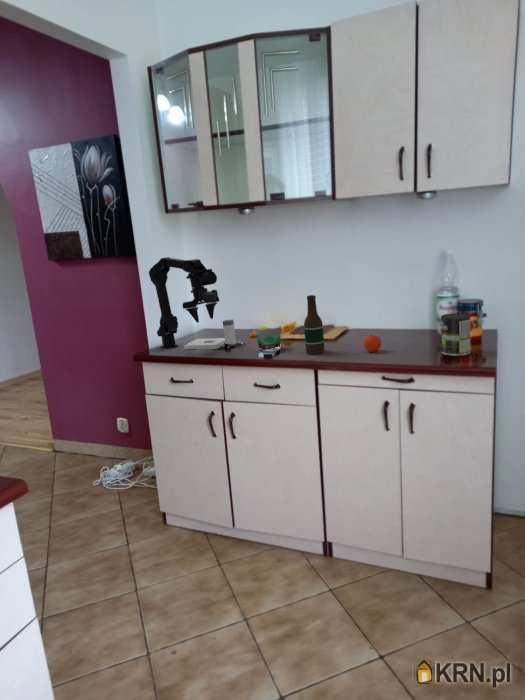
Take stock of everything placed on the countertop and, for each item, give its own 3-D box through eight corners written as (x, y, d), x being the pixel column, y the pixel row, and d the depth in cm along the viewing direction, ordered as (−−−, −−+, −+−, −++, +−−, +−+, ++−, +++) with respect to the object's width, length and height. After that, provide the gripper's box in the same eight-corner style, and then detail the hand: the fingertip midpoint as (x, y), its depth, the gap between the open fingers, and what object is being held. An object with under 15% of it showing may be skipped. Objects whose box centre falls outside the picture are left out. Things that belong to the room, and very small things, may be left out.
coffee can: (445, 356, 193) (444, 319, 190) (439, 350, 203) (438, 314, 200) (474, 354, 192) (473, 316, 189) (466, 348, 202) (466, 312, 199)
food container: (260, 354, 226) (257, 331, 224) (256, 351, 232) (254, 329, 230) (287, 350, 229) (285, 327, 227) (282, 347, 235) (280, 325, 233)
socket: (184, 349, 250) (183, 345, 250) (197, 342, 264) (196, 338, 264) (217, 348, 245) (216, 344, 245) (228, 341, 259) (228, 337, 259)
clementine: (376, 348, 216) (375, 331, 214) (387, 351, 210) (386, 333, 208) (360, 351, 213) (359, 334, 211) (371, 354, 207) (370, 337, 205)
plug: (225, 346, 250) (222, 321, 247) (228, 344, 253) (225, 319, 251) (233, 346, 248) (230, 321, 246) (236, 344, 252) (233, 319, 249)
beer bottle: (305, 351, 223) (301, 295, 218) (323, 349, 223) (319, 293, 217) (306, 355, 215) (301, 297, 210) (325, 353, 215) (321, 295, 210)
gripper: (195, 287, 227) (202, 322, 229) (224, 281, 241) (231, 315, 243) (178, 290, 234) (185, 325, 236) (207, 285, 248) (214, 317, 250)
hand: (204, 320), depth 241 cm, fingers open, 9 cm apart
